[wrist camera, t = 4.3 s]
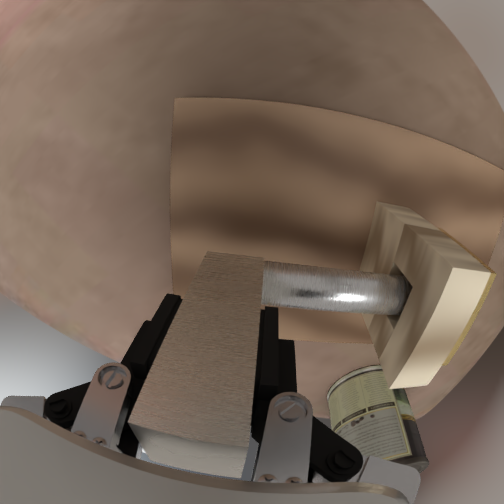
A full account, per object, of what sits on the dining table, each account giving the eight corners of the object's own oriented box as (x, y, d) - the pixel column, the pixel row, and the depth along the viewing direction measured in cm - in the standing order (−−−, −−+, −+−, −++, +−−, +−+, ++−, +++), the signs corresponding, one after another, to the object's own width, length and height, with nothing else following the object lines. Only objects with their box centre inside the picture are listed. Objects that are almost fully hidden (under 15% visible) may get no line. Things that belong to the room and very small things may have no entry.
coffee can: (414, 366, 28) (447, 456, 16) (374, 410, 33) (390, 489, 20) (349, 359, 28) (372, 471, 15) (313, 406, 32) (319, 498, 19)
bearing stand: (181, 99, 18) (84, 78, 7) (503, 172, 17) (587, 211, 6) (180, 315, 26) (138, 412, 16) (445, 333, 26) (486, 407, 15)
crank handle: (210, 287, 17) (150, 460, 6) (212, 242, 15) (127, 422, 5) (453, 307, 16) (523, 418, 6) (469, 272, 15) (556, 380, 5)
